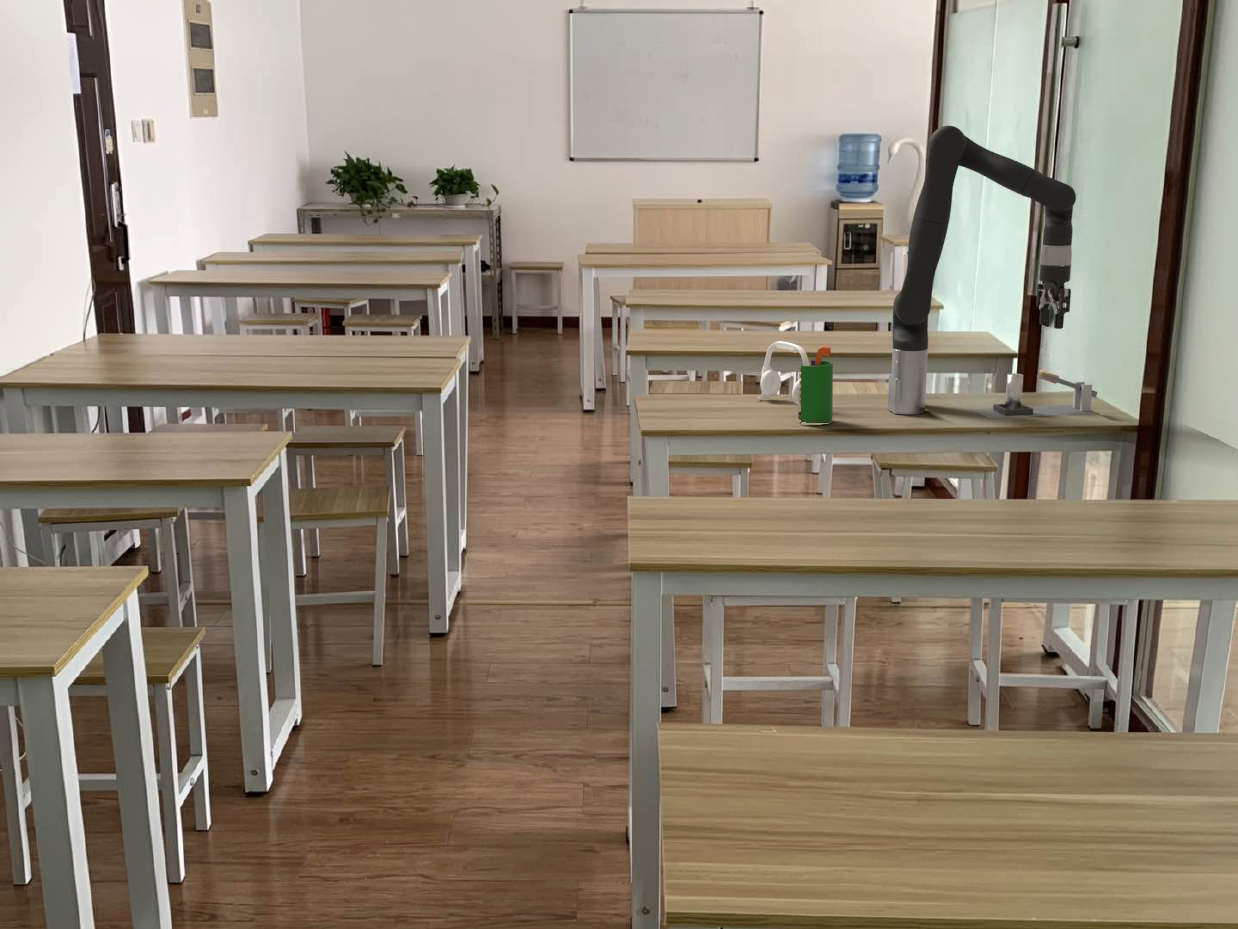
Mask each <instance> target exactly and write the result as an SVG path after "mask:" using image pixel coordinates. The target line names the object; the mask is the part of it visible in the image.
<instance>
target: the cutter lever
mask: <svg viewBox="0 0 1238 929" xmlns="http://www.w3.org/2000/svg"><path fill="white" fill-rule="evenodd" d="M1036 376H1037V378H1038V379H1040V380H1043V381H1046V382H1049V383H1052V384H1054V385H1055V384H1057V383H1058V384H1061V385H1064V386H1066V387H1069V388H1071V389H1073V390H1074V389H1077V390H1080V391H1081V387H1082V386H1080V385H1077V384H1075V383H1074V382H1072V381H1068V380H1066V379H1062V378H1060V376H1059V375H1057V374H1054V373H1051V372H1048V371H1045V370H1042V369H1040V370H1038V371H1037V375H1036ZM1080 393H1081V392H1080ZM1098 393H1099V392H1098V391H1097V390H1096V391H1095V390H1093V389H1092V394H1091V398H1096V397H1097V396H1098Z"/></svg>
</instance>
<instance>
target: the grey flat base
mask: <svg viewBox="0 0 1238 929" xmlns="http://www.w3.org/2000/svg"><path fill="white" fill-rule="evenodd" d="M1073 383H1075V384H1077V385H1080V386H1082V387H1081V391H1080V390H1077V389H1074V388H1073V398H1072V404H1059V405H1035V406H1033V405H1031V406H1028V405H1025V404H1023V403H1021V409H1005V403H996V404H995V403H994V404H992V405H993V406H992V407H991V408H990V407H989V408H988V407H985V408H984V407H983V408H971V411H974V412H976V413H977V414H980V415H981V416H984V417H985V418H988V419H1008V418H1009V419H1010V418H1028V417H1029V418H1032V417H1035V418H1036V417H1049V416H1050V417H1055V416H1056V417H1057V416H1058V417H1059V416H1078V415H1082V416H1083V415H1097V416H1100V415H1101V414H1100V413H1099V412H1097V411H1094V410H1092V409H1091V408H1092V406H1091V405H1092V396H1091V394H1092V390H1093V384H1091V383H1088V384H1087V383H1086V381H1074V382H1073ZM1080 392H1081V393H1080Z"/></svg>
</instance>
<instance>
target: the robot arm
mask: <svg viewBox="0 0 1238 929" xmlns="http://www.w3.org/2000/svg"><path fill="white" fill-rule="evenodd" d="M959 167H963V168H965V169H968V170H971V171H973V172H976V173H978V174H979V175H982V176H983V177H985V178H988V179H989V180H990V181H992V182H995V183H996V184H997V185H1000V186H1001V187H1004V188H1006V189H1008V190H1010V191H1012V192H1014V193H1016V194H1018V195H1020V196H1022V197H1026V198H1028V199H1031V200H1033V201H1035V202H1036V203H1038V204H1040V205H1042V206H1044V226H1043V236H1042V247H1041V248H1042V249H1041V252H1040V264H1039V277H1038V279H1039V281H1040V282H1041V283H1038V284H1037V288H1036V299H1035V306H1036V307H1038V309H1039V324H1040V325H1048V324H1050V323H1049V320H1050V308H1051V306H1052V307H1053V309H1054V318H1053V319H1054V320H1053V329H1055V330H1057V329H1058V330H1059V329H1060V330H1061V329H1063V328H1064V320H1065V314H1067V313H1070V310H1071V298H1072V297H1071V295H1072V290H1071V289H1072V288H1066V287H1065V283H1068V282H1069V281H1070V280H1071V272H1072V270H1071V269H1072V260H1073V259H1072V257H1073V251H1072V248H1073V247H1072V242H1073V232H1074V231H1073V223H1072V222H1073V221H1072V220H1073V212H1074V211H1073V210H1074V205H1075V204H1076V200H1077V194H1076V191H1075V189H1074V188H1073V187H1072V186H1071V185H1070V184H1067V183H1064V182H1062V181H1060V180H1057V179H1055V178H1052V177H1050V176H1049V175H1045V174H1043V173H1042V172H1040V171H1039V170H1038V169H1035V168H1032V167H1030V166H1028V165H1026V164H1025V163H1022V162H1019V161H1017V160H1016V159H1013V158H1011V157H1007V156H1006V155H1005V156H1004V155H1002V154H999V153H996V152H994V151H991V150H990V149H988V148H985V147H984V146H981V145H980V144H978V143H976V142H975V141H973V140H972V139H970V138H969V137H968V136H966V135H965V134H964V132H963V131H962V130H960V128H959V127H957V126H953V125H944V126H941V127H939V128H937V129H936V130H934V132H933V133H932V134H931V136H930V138H929V141H928V154H927V163H926V170H925V171H926V172H925V177H924V182H923V186H922V188H921V189H920V190H921V191H920V194H919V196H918V199H917V203H916V206H915V209H914V213H913V217H912V220H911V227H910V229H909V230H910V231H909V237H908V244H907V245H908V247H907V266H906V271H905V275H904V276H905V277H904V280H903V283H902V287H901V290H900V291H899V292H898V293H897V294H896V296H895V298H894V300H893V306H892V307H893V310H892V353H891V355H892V358H891V359H892V360H891V374H889V375H888V390H887V391H888V392H887V393H888V394H887V395H888V396H887V410H888V411H890V412H891V411H892V412H891V413H893V414H896V415H897V414H898V415H919V414H924V413H925V412H926V398H927V395H926V394H927V377H928V374H927V372H928V354H929V353H928V352H929V332H928V331H929V330H928V329H929V326H928V325H929V314H930V313H931V307H932V296H933V295H932V294H933V289H934V280H935V275H936V270H937V268H938V265H939V261H940V259H941V256H942V253H943V248H944V245H945V241H946V239H947V233H948V229H949V224H950V219H951V212H952V203H953V193H954V192H953V191H954V190H953V189H954V183H955V179H956V176H957V172H958V169H959ZM1042 282H1043V283H1042Z"/></svg>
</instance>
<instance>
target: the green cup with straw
mask: <svg viewBox="0 0 1238 929" xmlns="http://www.w3.org/2000/svg"><path fill="white" fill-rule="evenodd" d="M831 350H832V349H831V346H825V345H823V346H821V347H820V348H819V349H818V350H817V352H816V356H815V359H810V366H804V364H802V365H801V366H800V367H799V372H800V374H799V380H800V379H801V380H800V381H799V384H800V385H801V387H800V388H799V390H800V391H801V393H800V394H799V397H800V398H801V400H799V403H800V404H801V405H800V411H799V412H798V413H797V420H798V419H799V420H801V422H806V423H830V422H832V423H833V400H834V399H833V398H834V396H833V394H834V393H833V390H834V389H833V388H834V387H833V386H834V385H833V382H834V378H833V377H834V373H833V372H834V363H833V361H830V360H822V358H823V356H825V357H826V356H827V357H830V356H831Z"/></svg>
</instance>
